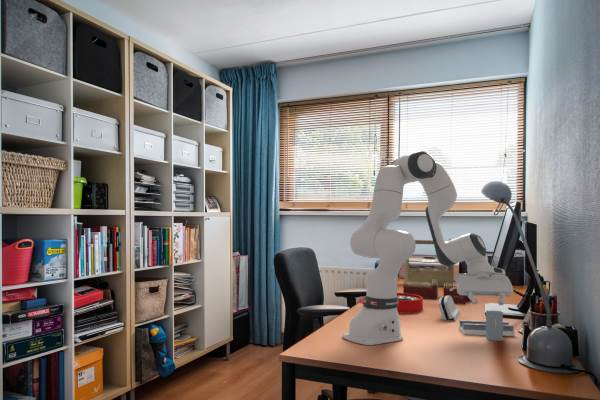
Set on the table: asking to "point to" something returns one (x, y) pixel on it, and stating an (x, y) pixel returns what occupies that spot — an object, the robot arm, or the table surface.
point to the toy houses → (433, 291)
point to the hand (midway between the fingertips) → (488, 304)
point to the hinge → (448, 308)
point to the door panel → (494, 325)
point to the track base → (483, 328)
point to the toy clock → (409, 303)
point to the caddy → (428, 272)
